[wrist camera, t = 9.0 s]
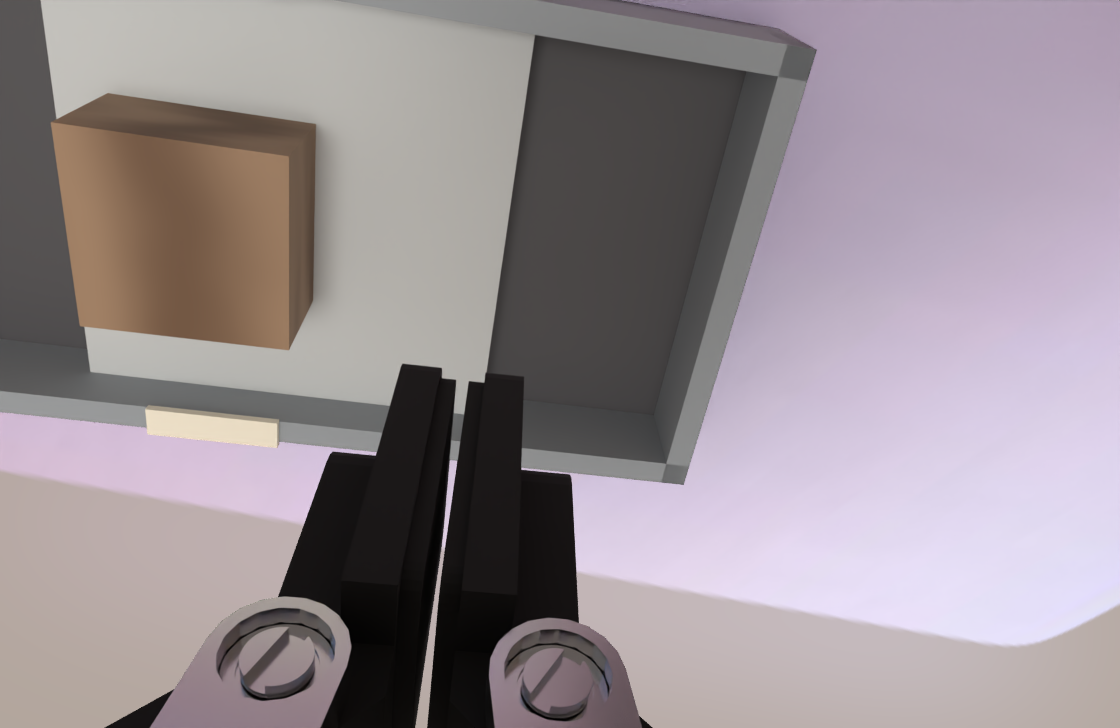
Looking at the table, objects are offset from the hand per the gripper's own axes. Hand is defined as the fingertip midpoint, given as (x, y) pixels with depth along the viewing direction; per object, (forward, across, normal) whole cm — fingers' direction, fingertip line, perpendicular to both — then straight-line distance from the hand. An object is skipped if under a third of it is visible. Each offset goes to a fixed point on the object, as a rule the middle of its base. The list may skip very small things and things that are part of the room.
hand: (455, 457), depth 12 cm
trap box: (+23, +8, +5) cm, 24 cm away
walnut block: (+20, +10, +5) cm, 23 cm away
